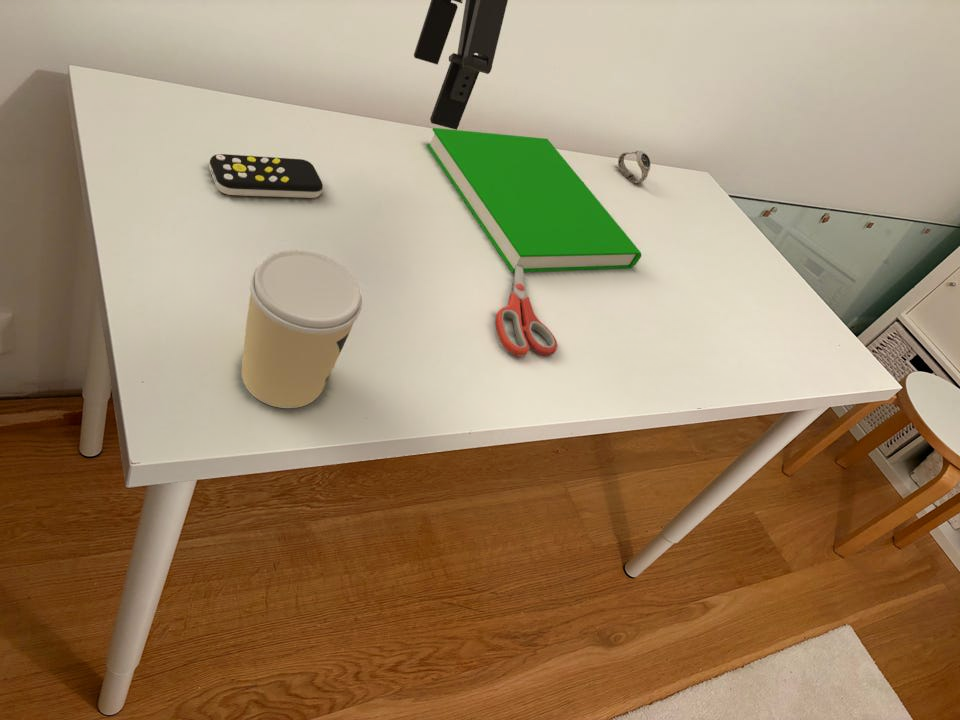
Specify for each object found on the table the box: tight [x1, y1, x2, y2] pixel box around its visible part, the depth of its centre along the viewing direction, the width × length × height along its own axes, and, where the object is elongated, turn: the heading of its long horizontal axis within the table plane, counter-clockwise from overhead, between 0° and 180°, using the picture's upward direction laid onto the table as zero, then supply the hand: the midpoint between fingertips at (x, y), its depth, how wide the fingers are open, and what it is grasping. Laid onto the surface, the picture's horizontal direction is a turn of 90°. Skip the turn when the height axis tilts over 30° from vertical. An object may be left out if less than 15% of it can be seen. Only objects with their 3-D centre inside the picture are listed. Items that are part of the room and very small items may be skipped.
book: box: [426, 127, 642, 274], centre depth 107 cm, size 22×28×3 cm
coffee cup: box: [241, 249, 363, 409], centre depth 64 cm, size 9×9×12 cm
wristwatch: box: [617, 150, 652, 184], centre depth 126 cm, size 4×6×5 cm, turn 42°
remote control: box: [208, 153, 323, 199], centre depth 87 cm, size 6×13×2 cm, turn 117°
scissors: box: [495, 265, 558, 357], centre depth 90 cm, size 8×21×2 cm, turn 11°
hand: (433, 90), depth 75 cm, fingers open, 13 cm apart
